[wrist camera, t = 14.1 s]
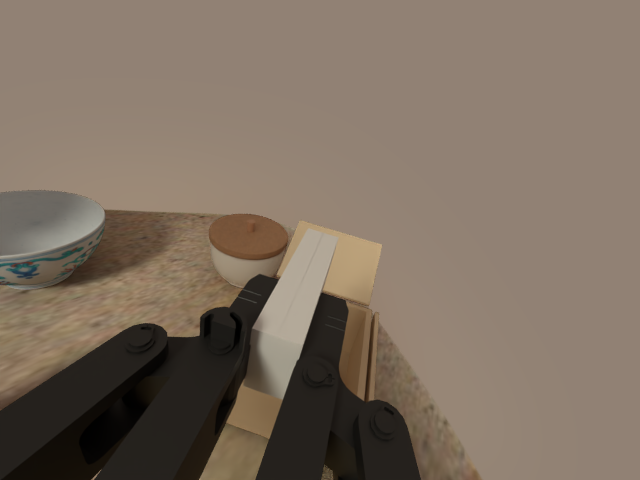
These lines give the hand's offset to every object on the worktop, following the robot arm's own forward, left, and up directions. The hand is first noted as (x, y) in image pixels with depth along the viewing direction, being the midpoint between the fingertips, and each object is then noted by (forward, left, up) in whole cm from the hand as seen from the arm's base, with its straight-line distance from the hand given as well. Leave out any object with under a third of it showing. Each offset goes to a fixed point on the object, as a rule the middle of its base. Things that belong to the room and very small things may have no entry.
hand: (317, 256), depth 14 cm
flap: (-7, +13, -14) cm, 20 cm away
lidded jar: (-21, +13, -22) cm, 33 cm away
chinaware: (-35, -8, -22) cm, 42 cm away
